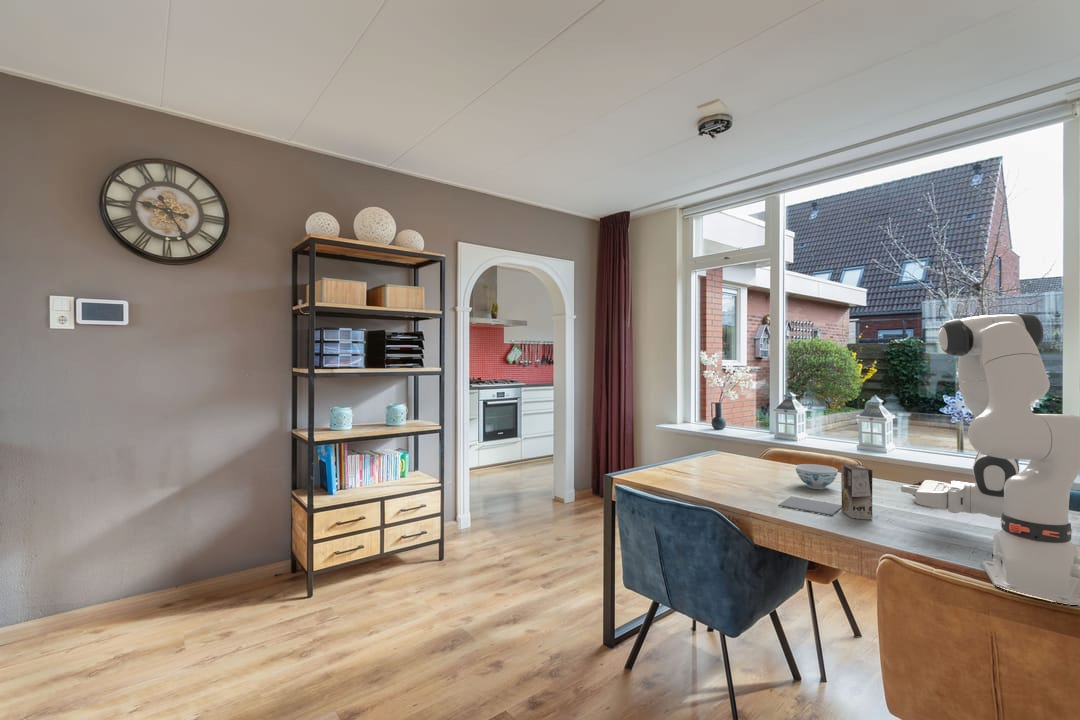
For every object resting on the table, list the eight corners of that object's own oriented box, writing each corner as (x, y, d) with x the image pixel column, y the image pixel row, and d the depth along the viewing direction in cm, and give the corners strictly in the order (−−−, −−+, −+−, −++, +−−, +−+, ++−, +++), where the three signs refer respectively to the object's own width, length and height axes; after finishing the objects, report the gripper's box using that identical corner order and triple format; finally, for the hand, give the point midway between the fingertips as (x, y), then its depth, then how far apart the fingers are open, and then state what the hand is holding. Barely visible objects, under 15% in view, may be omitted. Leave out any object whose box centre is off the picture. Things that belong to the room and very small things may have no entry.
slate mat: (832, 516, 168) (832, 514, 168) (778, 506, 179) (778, 504, 179) (843, 507, 178) (843, 505, 178) (791, 498, 189) (791, 496, 189)
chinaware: (825, 482, 212) (824, 464, 212) (845, 492, 197) (845, 472, 197) (788, 482, 212) (788, 464, 212) (806, 492, 197) (806, 472, 197)
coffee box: (873, 519, 164) (873, 470, 164) (851, 518, 165) (851, 469, 165) (861, 511, 173) (861, 464, 173) (840, 510, 174) (840, 463, 174)
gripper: (961, 479, 158) (907, 472, 168) (955, 492, 144) (896, 484, 153) (961, 499, 159) (907, 491, 168) (955, 514, 144) (896, 505, 153)
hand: (901, 488), depth 160 cm, fingers closed
